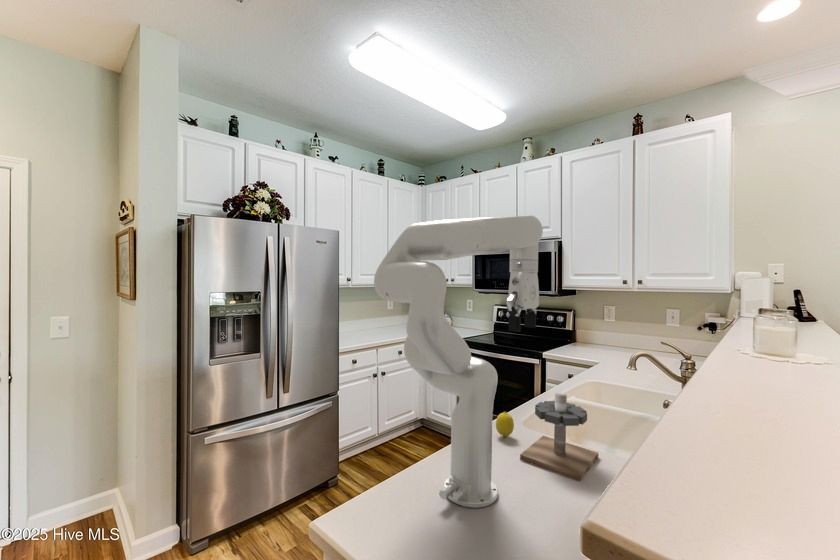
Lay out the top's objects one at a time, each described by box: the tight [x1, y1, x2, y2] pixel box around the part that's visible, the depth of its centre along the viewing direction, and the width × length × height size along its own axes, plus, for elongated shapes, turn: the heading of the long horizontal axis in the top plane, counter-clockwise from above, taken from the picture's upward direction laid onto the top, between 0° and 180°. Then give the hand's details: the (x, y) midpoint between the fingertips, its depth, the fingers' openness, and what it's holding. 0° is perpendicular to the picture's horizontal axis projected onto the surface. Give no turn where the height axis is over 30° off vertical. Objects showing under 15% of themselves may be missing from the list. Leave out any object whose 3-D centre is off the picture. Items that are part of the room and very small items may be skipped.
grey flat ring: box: [534, 400, 588, 427], centre depth 102 cm, size 13×13×2 cm
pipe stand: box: [519, 392, 599, 482], centre depth 103 cm, size 16×16×18 cm
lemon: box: [495, 411, 515, 438], centre depth 116 cm, size 6×6×8 cm
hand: (522, 329), depth 101 cm, fingers open, 9 cm apart
